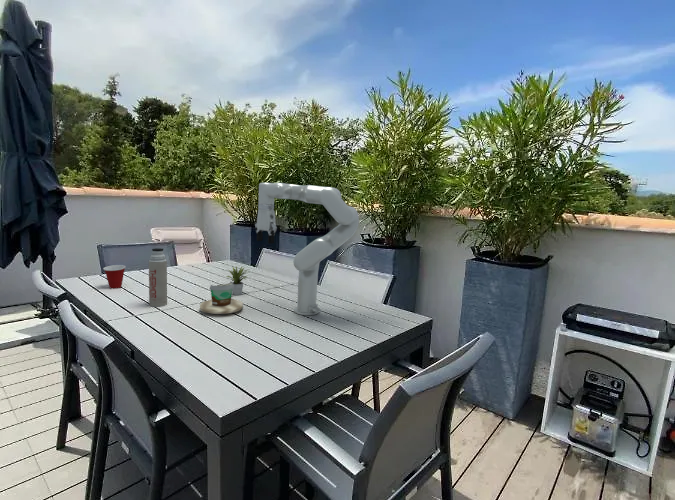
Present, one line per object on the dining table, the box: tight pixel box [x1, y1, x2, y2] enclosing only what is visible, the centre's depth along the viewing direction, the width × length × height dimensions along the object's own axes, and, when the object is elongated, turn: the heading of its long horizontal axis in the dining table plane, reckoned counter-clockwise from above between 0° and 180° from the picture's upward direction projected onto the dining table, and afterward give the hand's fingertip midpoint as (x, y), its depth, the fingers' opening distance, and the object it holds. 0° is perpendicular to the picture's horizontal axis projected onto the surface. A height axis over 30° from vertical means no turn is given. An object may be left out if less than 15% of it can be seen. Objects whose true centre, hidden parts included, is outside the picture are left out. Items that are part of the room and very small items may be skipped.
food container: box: [209, 280, 234, 306], centre depth 174 cm, size 12×6×10 cm, turn 143°
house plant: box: [225, 266, 251, 296], centre depth 204 cm, size 14×14×16 cm
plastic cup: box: [102, 264, 126, 290], centre depth 204 cm, size 11×11×12 cm
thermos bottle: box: [148, 247, 168, 308], centre depth 178 cm, size 8×8×28 cm
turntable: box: [199, 298, 244, 315], centre depth 176 cm, size 20×20×9 cm
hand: (265, 242), depth 182 cm, fingers open, 9 cm apart
